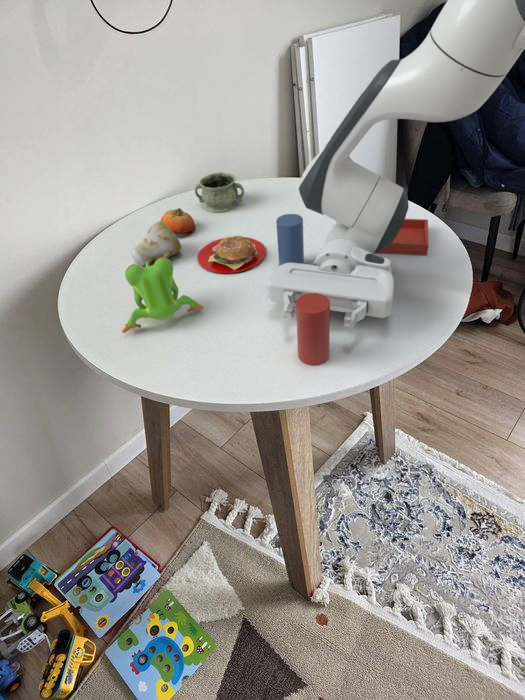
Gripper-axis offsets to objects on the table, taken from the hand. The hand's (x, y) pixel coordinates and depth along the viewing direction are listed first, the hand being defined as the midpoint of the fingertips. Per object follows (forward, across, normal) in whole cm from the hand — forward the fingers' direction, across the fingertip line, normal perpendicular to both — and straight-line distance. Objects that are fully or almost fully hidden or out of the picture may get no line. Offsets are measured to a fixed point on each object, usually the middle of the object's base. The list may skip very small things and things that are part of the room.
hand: (317, 319), depth 73 cm
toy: (-1, -29, +6) cm, 29 cm away
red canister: (+2, 0, +5) cm, 6 cm away
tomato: (-30, -40, +6) cm, 50 cm away
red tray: (-35, +8, +5) cm, 36 cm away
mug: (-18, -39, +6) cm, 43 cm away
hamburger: (-22, -24, +6) cm, 33 cm away
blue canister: (-21, -11, +5) cm, 24 cm away
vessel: (-43, -36, +5) cm, 56 cm away
